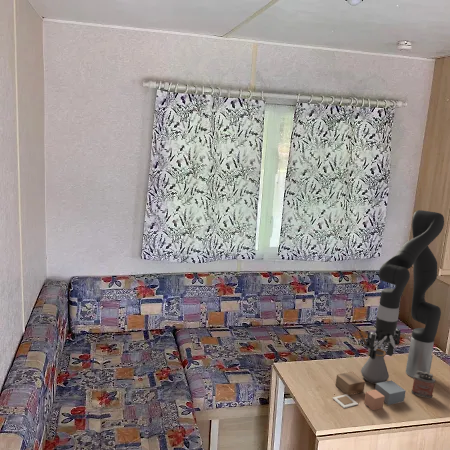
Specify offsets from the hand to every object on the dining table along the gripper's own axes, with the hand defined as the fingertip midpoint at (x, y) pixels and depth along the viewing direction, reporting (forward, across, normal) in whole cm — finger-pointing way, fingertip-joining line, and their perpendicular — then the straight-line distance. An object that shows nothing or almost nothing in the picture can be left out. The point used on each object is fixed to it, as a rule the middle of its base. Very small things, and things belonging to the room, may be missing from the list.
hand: (380, 356), depth 186 cm
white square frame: (+21, +9, -6) cm, 23 cm away
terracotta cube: (+21, 0, 0) cm, 21 cm away
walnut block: (+21, +1, -13) cm, 25 cm away
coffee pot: (+21, -15, -20) cm, 33 cm away
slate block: (+21, -10, -2) cm, 23 cm away
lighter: (+20, -25, +1) cm, 33 cm away
